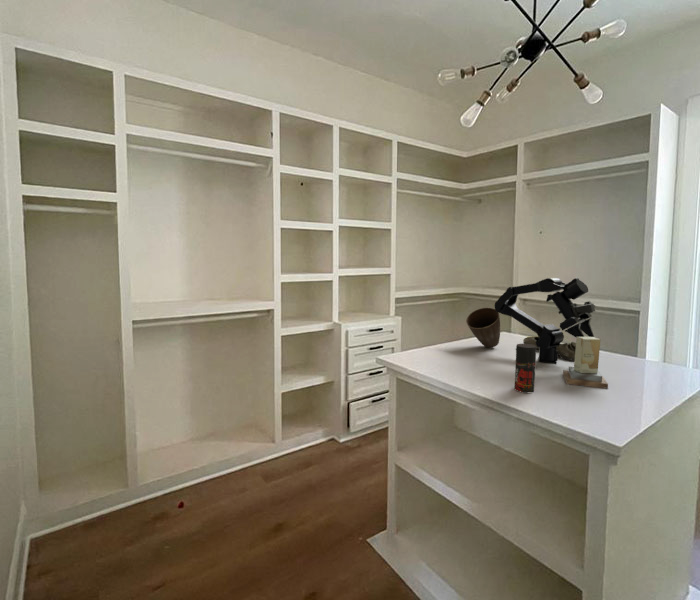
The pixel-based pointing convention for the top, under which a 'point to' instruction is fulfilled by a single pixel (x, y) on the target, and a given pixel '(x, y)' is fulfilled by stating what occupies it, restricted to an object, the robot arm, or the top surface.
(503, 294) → the robot arm
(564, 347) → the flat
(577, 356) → the skincare box
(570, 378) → the brown picture frame
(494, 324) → the plant pot
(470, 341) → the top surface
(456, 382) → the top surface
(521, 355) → the deodorant
